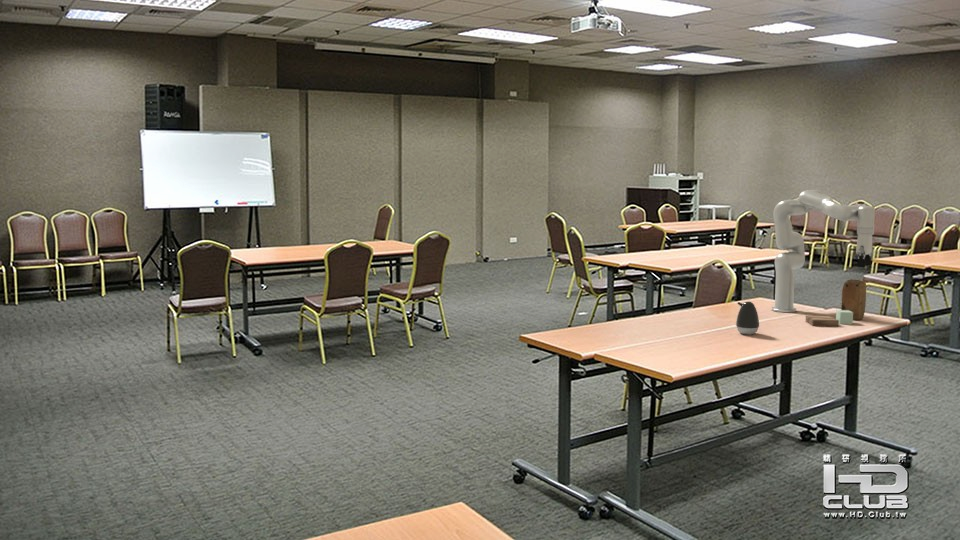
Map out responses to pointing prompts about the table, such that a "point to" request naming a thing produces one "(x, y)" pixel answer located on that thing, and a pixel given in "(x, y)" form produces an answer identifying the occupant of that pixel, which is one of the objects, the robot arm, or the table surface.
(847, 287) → the block
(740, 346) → the table surface
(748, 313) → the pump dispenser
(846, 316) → the cube
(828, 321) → the base
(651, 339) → the table surface
